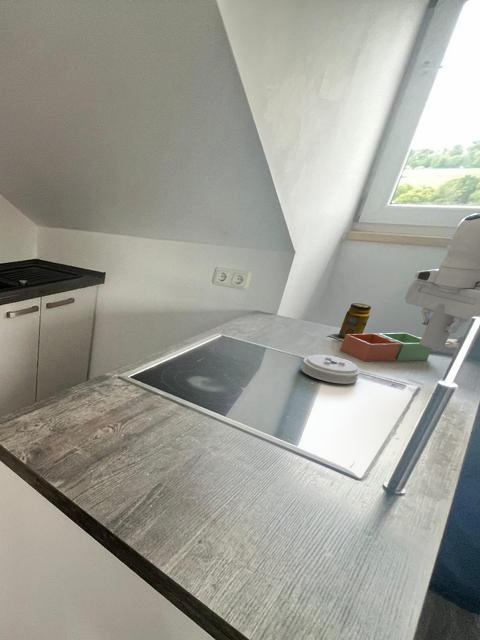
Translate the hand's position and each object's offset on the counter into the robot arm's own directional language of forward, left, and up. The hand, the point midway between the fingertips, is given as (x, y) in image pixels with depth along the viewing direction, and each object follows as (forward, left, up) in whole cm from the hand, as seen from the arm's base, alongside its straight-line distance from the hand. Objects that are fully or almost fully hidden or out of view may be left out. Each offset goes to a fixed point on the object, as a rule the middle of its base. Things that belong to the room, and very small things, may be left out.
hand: (437, 328), depth 106 cm
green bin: (-6, -12, -13) cm, 19 cm away
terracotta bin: (+4, -12, -13) cm, 18 cm away
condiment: (-2, -27, -13) cm, 30 cm away
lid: (+27, +2, -13) cm, 30 cm away
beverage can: (0, 0, -5) cm, 5 cm away
